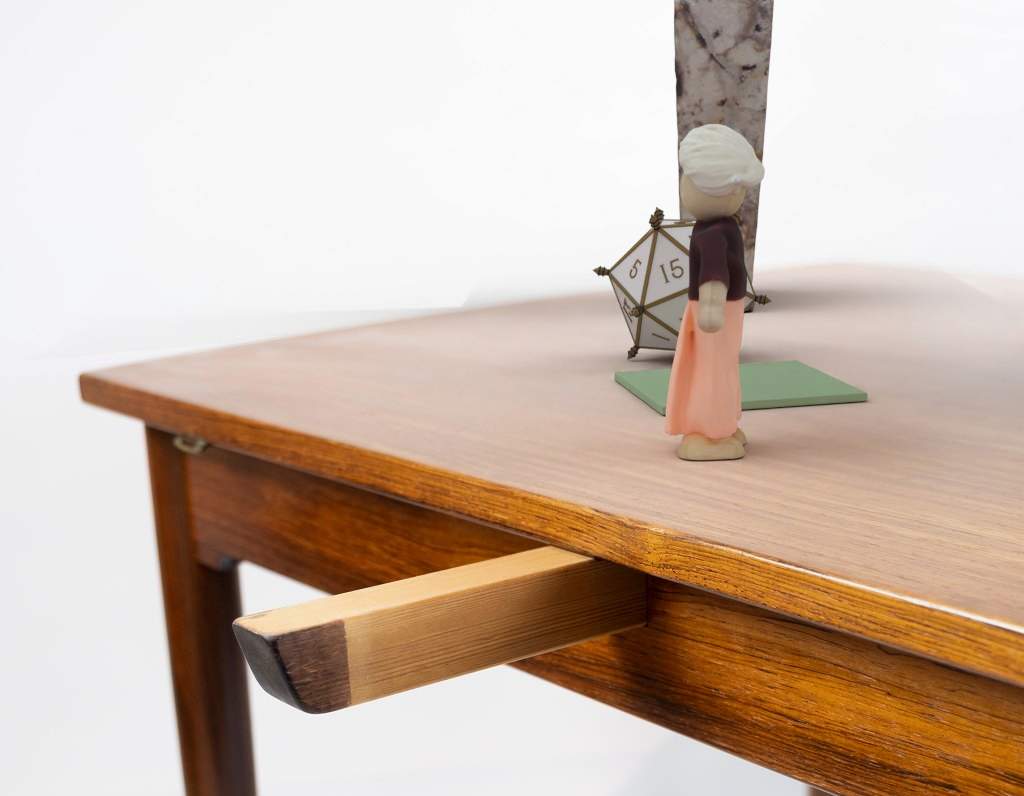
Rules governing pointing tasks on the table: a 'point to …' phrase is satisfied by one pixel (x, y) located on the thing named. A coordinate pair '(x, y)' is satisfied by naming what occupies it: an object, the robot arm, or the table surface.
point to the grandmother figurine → (712, 296)
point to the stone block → (724, 83)
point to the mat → (754, 386)
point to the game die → (658, 283)
